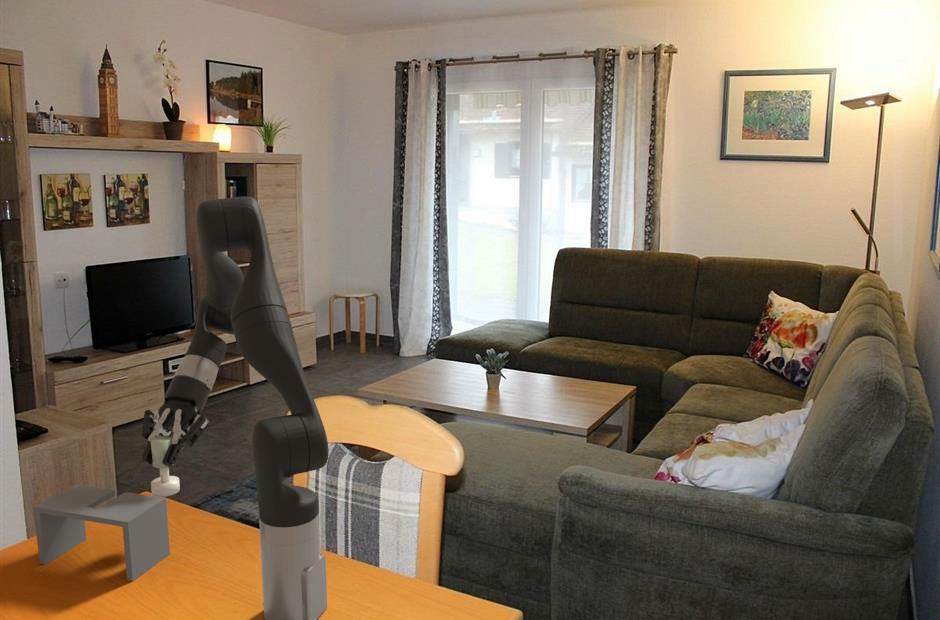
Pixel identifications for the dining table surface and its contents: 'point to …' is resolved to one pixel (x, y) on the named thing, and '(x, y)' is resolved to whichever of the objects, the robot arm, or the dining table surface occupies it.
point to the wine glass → (163, 468)
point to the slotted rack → (134, 512)
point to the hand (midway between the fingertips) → (156, 463)
